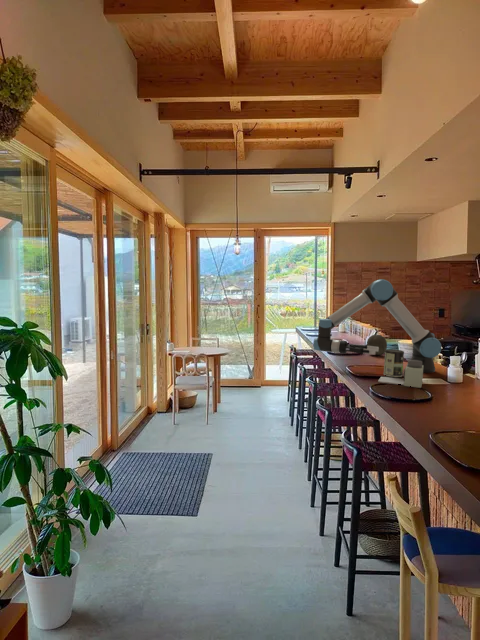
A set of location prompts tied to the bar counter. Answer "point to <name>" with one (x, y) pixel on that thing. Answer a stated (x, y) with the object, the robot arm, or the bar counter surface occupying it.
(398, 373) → the coffee can
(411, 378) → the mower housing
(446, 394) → the bar counter surface
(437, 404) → the bar counter surface
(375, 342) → the cantaloupe
